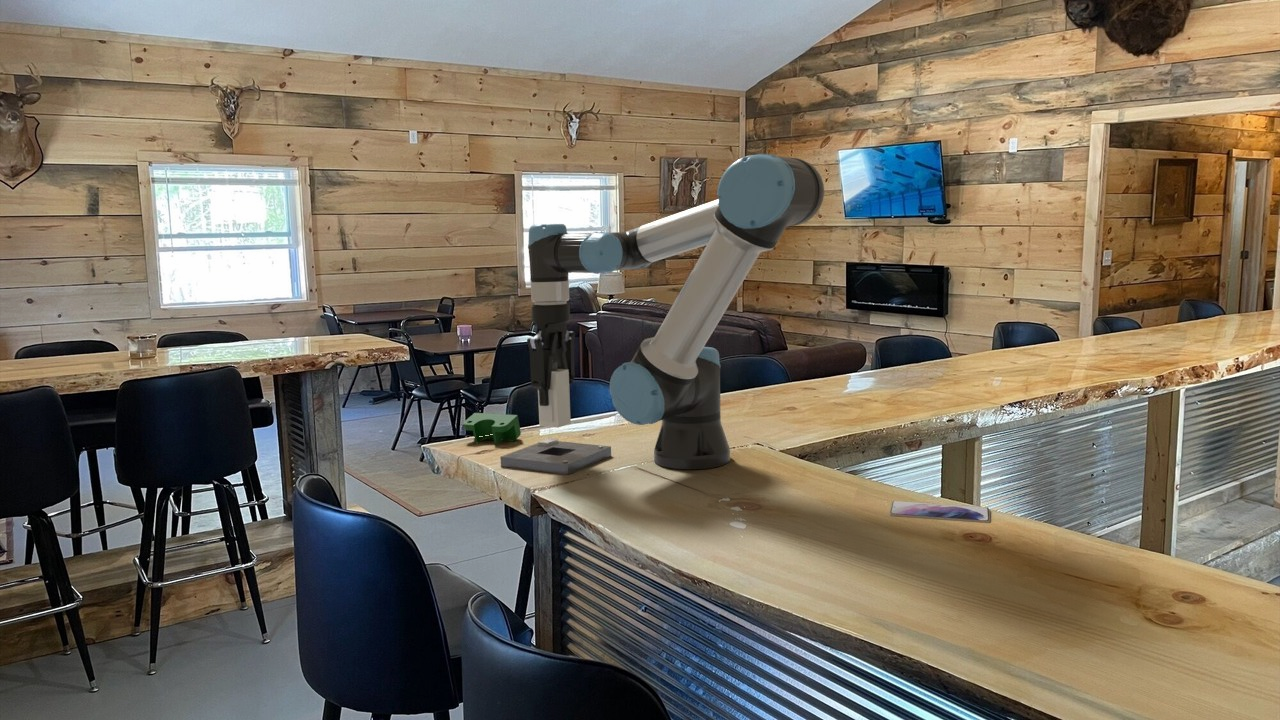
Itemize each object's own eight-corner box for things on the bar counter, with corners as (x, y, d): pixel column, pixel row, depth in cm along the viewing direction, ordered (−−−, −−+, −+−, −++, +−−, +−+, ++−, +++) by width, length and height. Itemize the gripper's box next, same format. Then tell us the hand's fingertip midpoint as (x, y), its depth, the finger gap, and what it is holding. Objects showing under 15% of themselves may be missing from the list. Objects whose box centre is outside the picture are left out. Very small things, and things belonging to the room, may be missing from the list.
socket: (611, 456, 190) (610, 443, 190) (567, 474, 176) (567, 460, 176) (547, 449, 198) (546, 436, 197) (500, 466, 184) (500, 453, 184)
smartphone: (990, 521, 141) (888, 513, 146) (990, 526, 141) (888, 518, 146) (989, 506, 147) (892, 500, 152) (989, 511, 147) (892, 504, 152)
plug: (570, 423, 187) (568, 359, 185) (558, 427, 183) (555, 362, 181) (552, 421, 189) (549, 358, 187) (539, 425, 185) (536, 361, 183)
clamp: (475, 461, 208) (455, 426, 206) (489, 448, 213) (469, 415, 211) (515, 445, 202) (494, 409, 200) (528, 432, 207) (507, 398, 205)
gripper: (559, 299, 192) (564, 409, 195) (507, 306, 177) (513, 425, 180) (590, 299, 188) (594, 412, 191) (540, 306, 173) (545, 429, 176)
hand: (555, 418), depth 186 cm, fingers closed on plug, 4 cm apart
